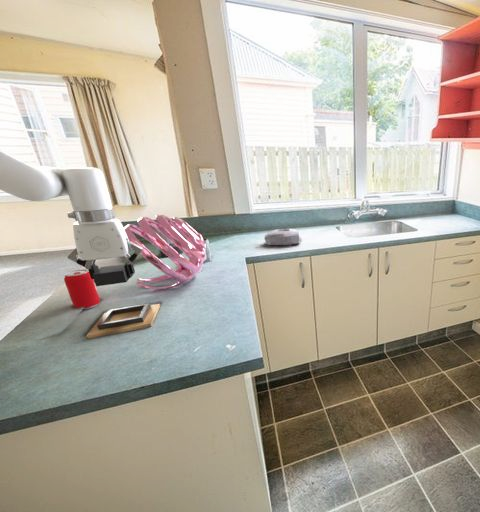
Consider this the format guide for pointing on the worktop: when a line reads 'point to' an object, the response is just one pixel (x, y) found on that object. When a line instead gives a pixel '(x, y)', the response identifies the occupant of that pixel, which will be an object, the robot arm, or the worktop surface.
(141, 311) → the base pad
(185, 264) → the spiral basket
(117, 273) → the dark grey rectangular block
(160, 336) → the worktop surface
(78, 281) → the beverage can
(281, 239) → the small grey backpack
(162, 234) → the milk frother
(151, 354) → the worktop surface
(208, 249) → the planter
